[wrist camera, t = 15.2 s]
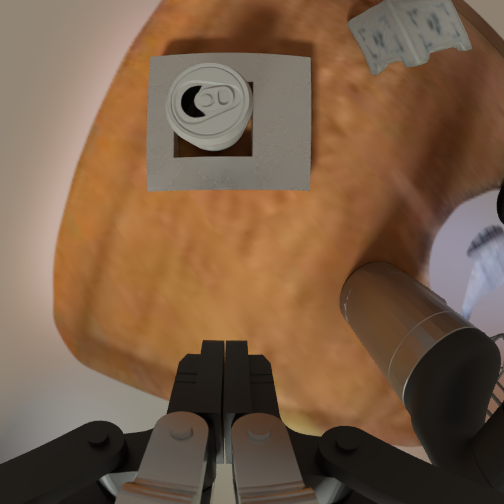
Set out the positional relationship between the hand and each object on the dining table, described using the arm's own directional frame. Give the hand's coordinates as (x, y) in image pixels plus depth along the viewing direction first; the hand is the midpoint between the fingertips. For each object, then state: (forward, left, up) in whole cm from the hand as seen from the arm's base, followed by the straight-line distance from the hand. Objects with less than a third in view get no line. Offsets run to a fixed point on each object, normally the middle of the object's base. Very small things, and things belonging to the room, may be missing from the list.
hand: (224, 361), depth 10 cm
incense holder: (-19, -23, -25) cm, 39 cm away
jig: (0, -11, -24) cm, 27 cm away
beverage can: (+1, -11, -25) cm, 27 cm away
